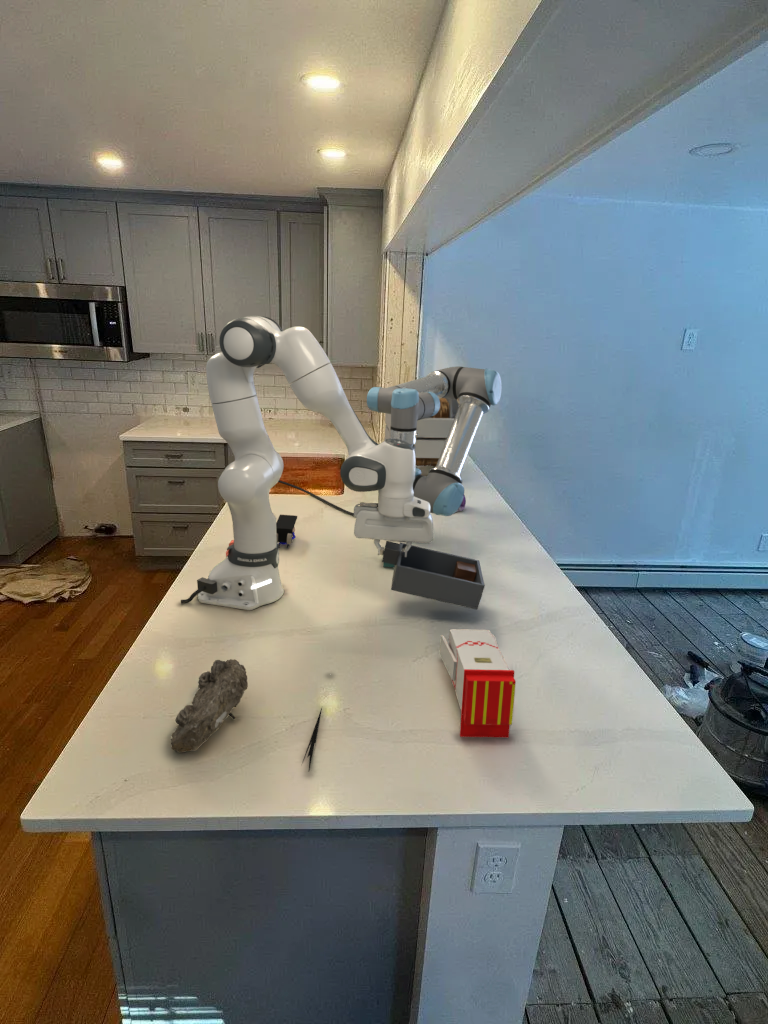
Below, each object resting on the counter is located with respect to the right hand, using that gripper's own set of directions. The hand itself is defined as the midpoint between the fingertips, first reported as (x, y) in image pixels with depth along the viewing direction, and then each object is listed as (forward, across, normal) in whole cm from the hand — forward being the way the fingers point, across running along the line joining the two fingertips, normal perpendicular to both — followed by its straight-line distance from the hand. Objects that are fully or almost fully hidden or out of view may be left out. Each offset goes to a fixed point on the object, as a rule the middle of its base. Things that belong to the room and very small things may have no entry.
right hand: (399, 513), depth 170 cm
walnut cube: (+10, -23, -18) cm, 31 cm away
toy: (+17, -60, -17) cm, 65 cm away
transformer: (+18, +105, -8) cm, 107 cm away
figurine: (+17, +56, -22) cm, 62 cm away
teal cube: (+17, 0, +1) cm, 17 cm away
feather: (+17, -72, +13) cm, 75 cm away
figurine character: (+17, +12, +37) cm, 43 cm away
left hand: (+2, -26, +1) cm, 27 cm away
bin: (+9, -27, -8) cm, 30 cm away
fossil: (+17, -73, +33) cm, 82 cm away
